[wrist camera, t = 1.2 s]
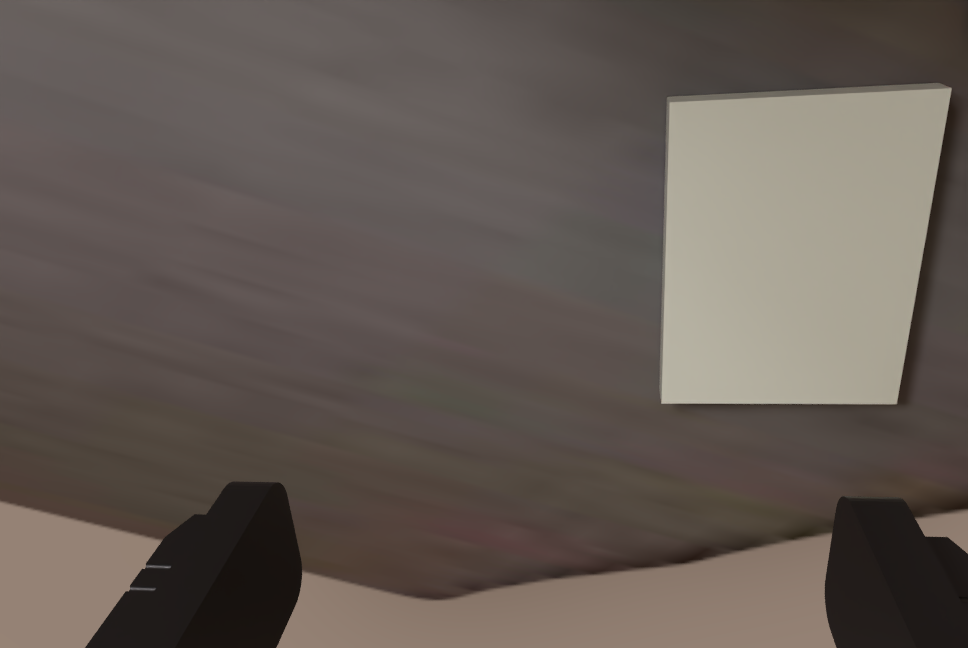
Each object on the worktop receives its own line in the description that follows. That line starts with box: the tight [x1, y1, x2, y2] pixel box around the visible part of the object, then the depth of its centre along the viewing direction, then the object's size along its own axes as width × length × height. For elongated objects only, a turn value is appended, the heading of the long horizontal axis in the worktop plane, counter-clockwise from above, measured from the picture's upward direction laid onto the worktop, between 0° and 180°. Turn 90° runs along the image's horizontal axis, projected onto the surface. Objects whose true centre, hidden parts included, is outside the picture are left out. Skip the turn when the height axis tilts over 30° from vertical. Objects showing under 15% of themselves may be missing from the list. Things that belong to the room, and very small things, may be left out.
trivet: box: [659, 83, 952, 404], centre depth 39 cm, size 16×12×2 cm
